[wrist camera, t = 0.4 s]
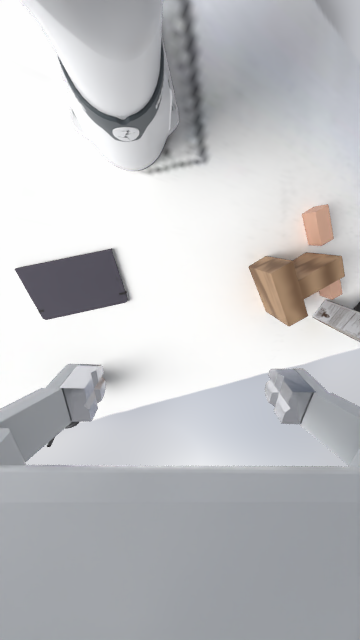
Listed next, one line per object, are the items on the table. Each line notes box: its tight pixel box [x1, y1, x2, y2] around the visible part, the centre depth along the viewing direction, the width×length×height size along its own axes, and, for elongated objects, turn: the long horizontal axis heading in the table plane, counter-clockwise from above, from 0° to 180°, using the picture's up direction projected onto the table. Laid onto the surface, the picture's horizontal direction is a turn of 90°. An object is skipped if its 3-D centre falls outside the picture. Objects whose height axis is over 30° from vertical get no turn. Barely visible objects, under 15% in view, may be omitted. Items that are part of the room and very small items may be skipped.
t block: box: [249, 253, 345, 326], centre depth 45 cm, size 15×15×10 cm
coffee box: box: [313, 300, 360, 342], centre depth 49 cm, size 9×6×16 cm
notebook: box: [15, 249, 128, 320], centre depth 43 cm, size 13×2×21 cm
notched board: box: [302, 204, 342, 300], centre depth 47 cm, size 3×24×4 cm, turn 31°
